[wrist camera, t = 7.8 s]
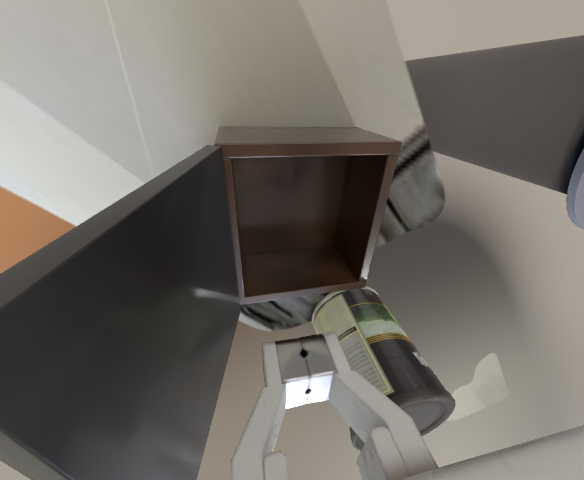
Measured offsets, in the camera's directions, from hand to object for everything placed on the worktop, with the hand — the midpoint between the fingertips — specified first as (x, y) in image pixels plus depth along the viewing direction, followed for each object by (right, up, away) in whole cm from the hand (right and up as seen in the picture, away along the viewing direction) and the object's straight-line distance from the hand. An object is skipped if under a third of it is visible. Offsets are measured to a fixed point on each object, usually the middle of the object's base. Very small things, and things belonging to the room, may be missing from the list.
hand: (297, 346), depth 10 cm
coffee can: (+7, -6, +25) cm, 26 cm away
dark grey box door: (-4, +1, +1) cm, 5 cm away
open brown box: (0, +8, +13) cm, 16 cm away
